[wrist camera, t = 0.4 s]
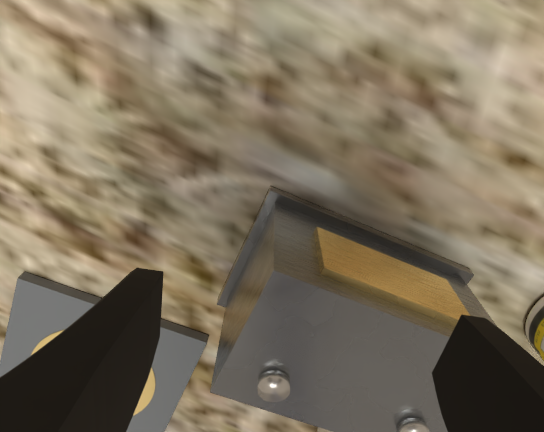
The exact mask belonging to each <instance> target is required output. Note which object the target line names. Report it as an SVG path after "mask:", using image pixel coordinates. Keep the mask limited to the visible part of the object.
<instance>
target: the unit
mask: <svg viewBox="0 0 544 432" xmlns="http://www.w3.org/2000/svg"><path fill="white" fill-rule="evenodd" d="M473 276H474V274H473V273H472V272H471V270H470V269H469V268H467V267H464V266H462V265H460V264H457V263H455V262H452V261H450V260H448V259H445V258H443V257H440V256H438V255H436V254H433V253H431V252H428V251H426V250H424V249H421V248H419V247H416V246H414V245H412V244H409V243H407V242H404V241H402V240H400V239H397V238H395V237H392V236H390V235H388V234H385V233H383V232H380V231H378V230H376V229H373V228H371V227H368V226H366V225H364V224H361V223H359V222H356V221H354V220H352V219H349V218H347V217H344V216H342V215H340V214H337V213H335V212H332V211H330V210H328V209H325V208H323V207H320V206H318V205H316V204H313V203H311V202H308V201H306V200H304V199H301V198H299V197H296V196H294V195H292V194H289V193H287V192H284V191H282V190H280V189H277V188H275V187H272V186H270V188H269V190H268V192H267V194H266V197H265V199H264V201H263V203H262V205H261V207H260V209H259V212H258V214H257V216H256V218H255V220H254V222H253V224H252V226H251V229H250V231H249V233H248V235H247V237H246V239H245V241H244V244H243V246H242V248H241V250H240V252H239V254H238V256H237V259H236V261H235V263H234V265H233V267H232V269H231V271H230V274H229V276H228V278H227V280H226V282H225V284H224V286H223V288H222V291H221V293H220V295H219V297H218V301H217V305H220V306H223V307H226V309H225V315H224V320H223V325H222V331H221V336H220V341H219V347H218V352H217V357H216V363H215V368H214V374H213V379H212V384H211V390H210V392H211V393H214V394H217V395H220V396H223V397H226V398H230V399H233V400H236V401H239V402H242V403H245V404H248V405H251V406H254V407H258V408H261V409H264V410H267V411H270V412H273V413H276V414H279V415H282V416H285V417H289V418H292V419H295V420H298V421H301V422H304V423H307V424H310V425H313V426H317V427H320V428H323V429H326V430H329V431H332V432H448V431H447V428H446V426H445V423H444V420H443V417H442V414H441V410H440V407H439V403H438V399H437V395H436V390H435V385H434V381H433V376H432V371H433V369H434V368H435V366H436V364H437V362H438V360H439V358H440V356H441V354H442V352H443V350H444V348H445V346H446V344H447V342H448V340H449V338H450V336H451V334H452V332H453V330H454V328H455V326H456V324H457V322H458V320H459V318H460V316H461V314H462V315H469V316H475V317H482V318H486V319H488V320H489V321H490V322H492V323H493V324H494V325H495V326H496V324H495V323H494V322H493V320H492V319H491V318H490V316H489V315H488V313H487V312H486V311H485V309H484V308H483V306H482V305H481V304H480V302H479V301H478V300H477V298H476V297H475V295H474V294H473V293H472V291H471V290H470V288H469V287H468V286H467V283H468V282H469V281H470V280H471V278H472V277H473Z"/></svg>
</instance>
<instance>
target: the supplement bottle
mask: <svg viewBox="0 0 544 432" xmlns="http://www.w3.org/2000/svg"><path fill="white" fill-rule="evenodd" d="M525 332H526V336H527V339H528V341H529V342H530V344H531V345H532V347H533V348H534V349H535V350H536V352H537V353H538V354H539V356H540V357H541V358H542V359H543V360H544V297H542V298H541V299H540V300H539V301H538V302H537V303H536V304H535V305H534V307H533V308H532V310H531V311H530V313H529V315H528V317H527V320H526V325H525Z"/></svg>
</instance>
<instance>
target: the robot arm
mask: <svg viewBox="0 0 544 432" xmlns="http://www.w3.org/2000/svg"><path fill="white" fill-rule="evenodd" d="M162 288H163V272H162V271H155V270H148V269H141V268H136V269H134V270H133V271H132V272H130V273H129V274H128V275H127V276H126V277H125V278H124V279H123V280H122V281H121V282H120V283H119V284H118V285H116V286H115V287H114V288H113V289H112V290H111V291H110V292H109V293H108V294H107V295H105V296H104V297H103V298H102V299H101V300H100V301H99V302H97V303H96V304H95V305H94V306H93V307H92V308H90V309H89V310H88V311H87V312H86V313H85V314H83V315H82V316H81V317H80V318H79V319H77V320H76V321H75V322H74V323H73V324H71V325H70V326H69V327H68V328H66V329H65V330H64V331H63V332H61V333H60V334H59V335H57V336H56V337H55V338H54V339H52V340H51V341H50V342H48V343H47V344H46V345H44V346H43V347H42V348H40V349H39V350H38V351H36V352H35V353H34V354H32V355H31V356H30V357H28V358H27V359H26V360H24V361H23V362H21V363H20V364H19V365H17V366H16V367H14V368H13V369H12V370H10V371H9V372H7V373H6V374H4V375H3V376H1V377H0V432H126V431H127V429H128V426H129V424H130V422H131V419H132V417H133V414H134V412H135V409H136V407H137V404H138V402H139V399H140V397H141V394H142V392H143V390H144V387H145V385H146V382H147V380H148V377H149V373H150V370H151V367H152V363H153V360H154V356H155V352H156V349H157V345H158V342H159V338H160V325H161V306H162ZM432 376H433V381H434V385H435V390H436V395H437V399H438V403H439V407H440V410H441V414H442V417H443V420H444V423H445V426H446V428H447V431H448V432H544V366H543V365H542V364H541V363H539V362H538V361H537V360H536V359H535V358H534V357H532V356H531V355H530V354H529V353H528V352H527V351H525V350H524V349H523V348H522V347H521V346H520V345H518V344H517V343H516V342H515V341H514V340H513V339H511V338H510V337H509V336H508V335H507V334H505V333H504V332H503V331H502V330H501V329H499V328H498V327H497V326H495V325H494V324H493V323H492V322H490V321H489V320H488V319H486V318H482V317H475V316H469V315H462V314H461V316H460V318H459V320H458V322H457V324H456V326H455V328H454V330H453V332H452V334H451V336H450V338H449V340H448V342H447V344H446V346H445V348H444V350H443V352H442V354H441V356H440V358H439V360H438V362H437V364H436V366H435V368H434V369H433V371H432Z"/></svg>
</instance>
